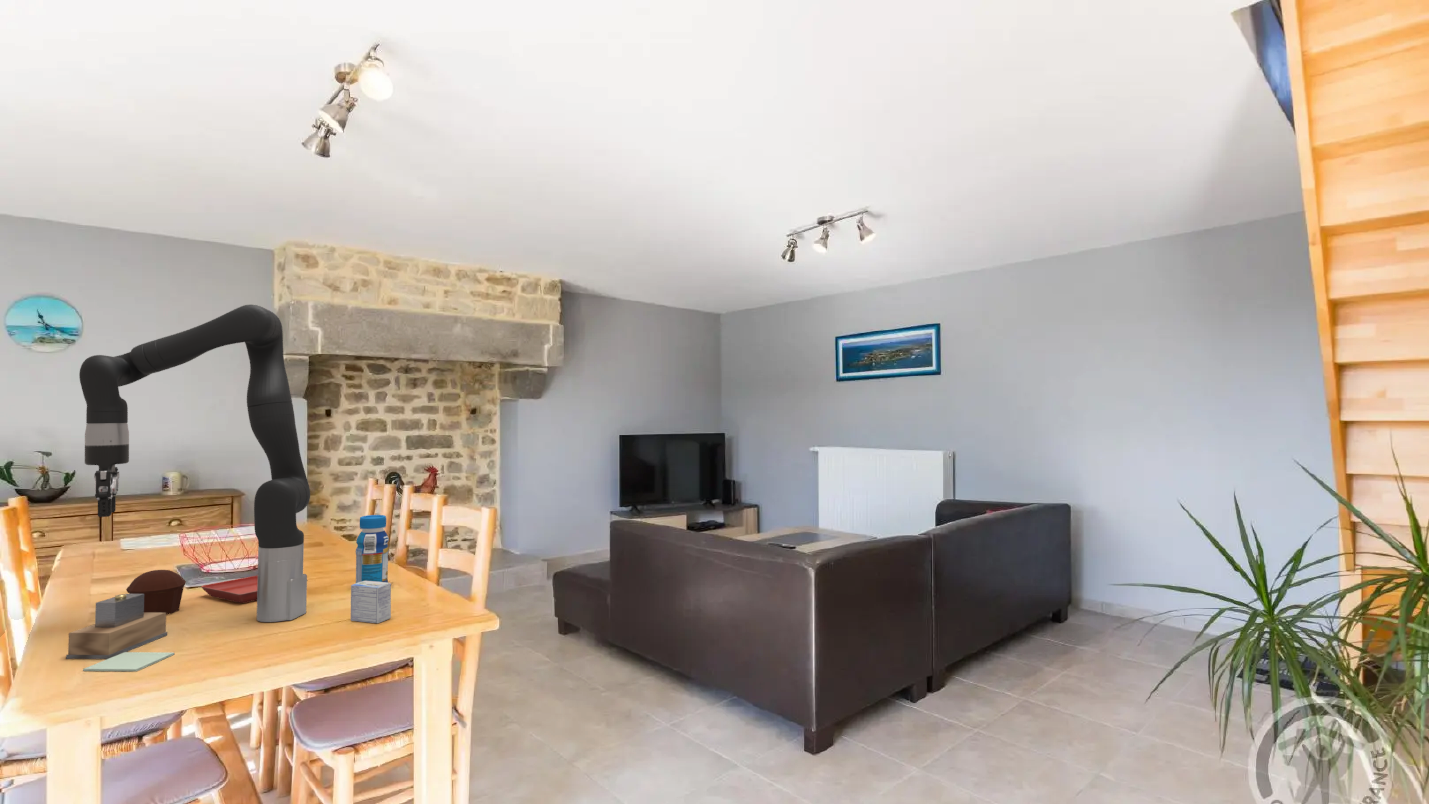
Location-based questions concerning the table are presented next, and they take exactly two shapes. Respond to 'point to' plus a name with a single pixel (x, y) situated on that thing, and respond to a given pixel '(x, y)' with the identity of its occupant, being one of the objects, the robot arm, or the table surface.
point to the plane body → (115, 637)
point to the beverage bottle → (372, 550)
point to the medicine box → (370, 601)
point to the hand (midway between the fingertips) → (106, 514)
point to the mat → (129, 661)
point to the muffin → (159, 590)
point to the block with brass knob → (119, 610)
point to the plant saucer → (234, 589)
